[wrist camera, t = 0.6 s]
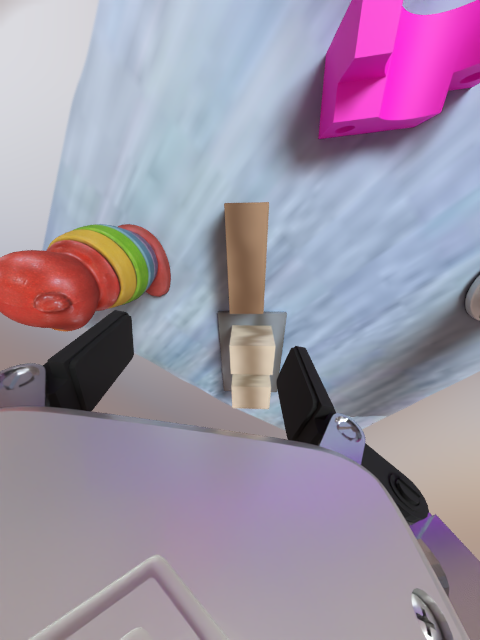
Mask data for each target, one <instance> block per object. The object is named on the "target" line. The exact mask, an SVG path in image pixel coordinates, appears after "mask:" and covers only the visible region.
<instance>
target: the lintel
mask: <svg viewBox="0 0 480 640" xmlns="http://www.w3.org/2000/svg"><path fill="white" fill-rule="evenodd" d="M224 207H225V227H226V248H227V268H228V288H229V309H230V314H263V310H264V290H265V271H266V252H267V232H268V213H269V202H260V203H224Z"/></svg>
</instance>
